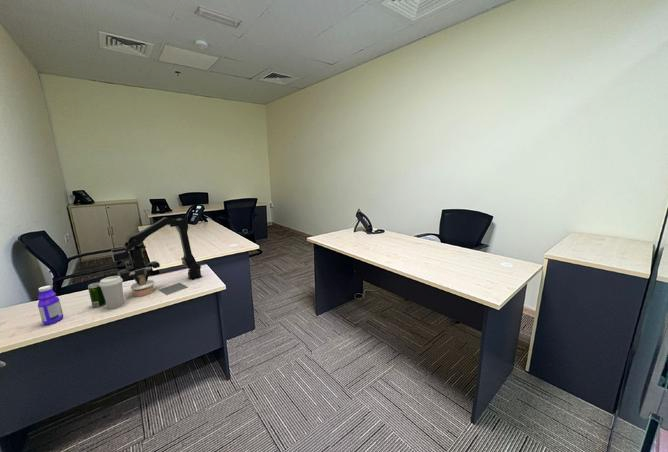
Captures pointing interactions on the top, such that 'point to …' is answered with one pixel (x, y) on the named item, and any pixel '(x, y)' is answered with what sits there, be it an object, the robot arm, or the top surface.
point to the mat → (172, 288)
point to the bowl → (143, 291)
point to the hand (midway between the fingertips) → (142, 282)
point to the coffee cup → (112, 291)
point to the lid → (142, 283)
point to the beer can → (96, 295)
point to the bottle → (49, 305)
